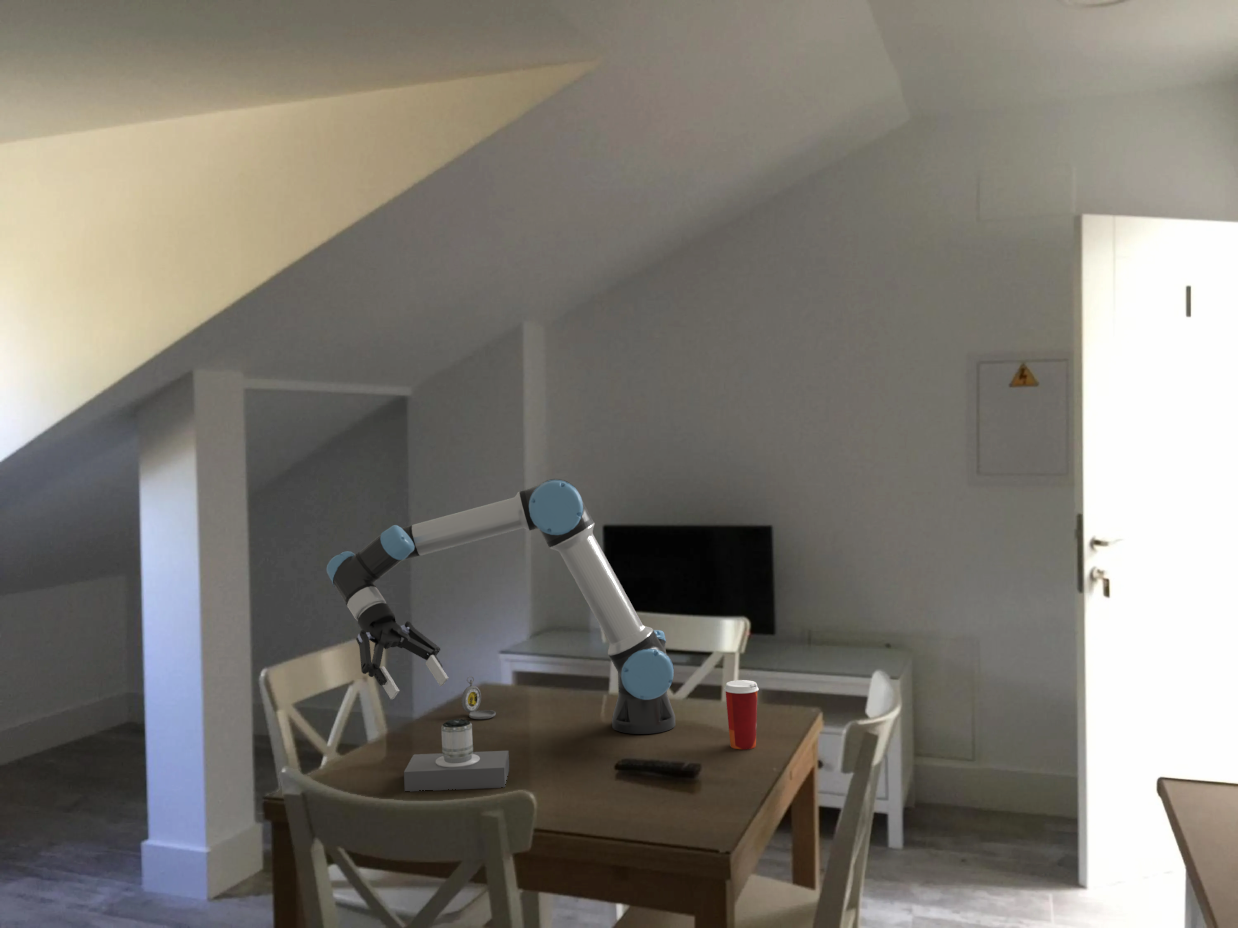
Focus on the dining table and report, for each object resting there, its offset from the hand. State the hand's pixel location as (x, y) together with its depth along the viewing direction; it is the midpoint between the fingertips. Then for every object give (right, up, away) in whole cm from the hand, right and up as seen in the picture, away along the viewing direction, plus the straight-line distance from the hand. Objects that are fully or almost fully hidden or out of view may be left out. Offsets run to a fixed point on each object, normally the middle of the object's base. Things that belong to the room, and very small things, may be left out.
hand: (420, 688), depth 231 cm
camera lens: (+9, -13, -6) cm, 17 cm away
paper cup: (+69, -15, +11) cm, 72 cm away
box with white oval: (+9, -18, -6) cm, 21 cm away
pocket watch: (+7, -17, +46) cm, 49 cm away
